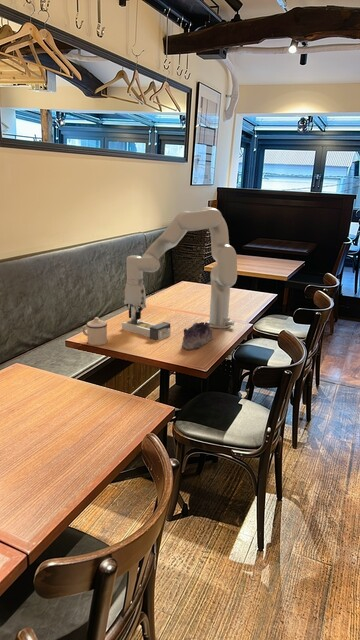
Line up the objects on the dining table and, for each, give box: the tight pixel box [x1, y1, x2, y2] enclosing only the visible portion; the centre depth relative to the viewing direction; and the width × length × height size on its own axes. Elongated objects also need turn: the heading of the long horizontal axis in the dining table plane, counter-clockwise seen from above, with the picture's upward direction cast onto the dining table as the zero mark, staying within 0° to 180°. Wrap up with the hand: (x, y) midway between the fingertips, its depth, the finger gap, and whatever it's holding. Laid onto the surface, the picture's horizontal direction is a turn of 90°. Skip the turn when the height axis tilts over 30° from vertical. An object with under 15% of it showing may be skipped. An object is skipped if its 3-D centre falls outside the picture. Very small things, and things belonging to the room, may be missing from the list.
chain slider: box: [126, 305, 147, 328], centre depth 220 cm, size 10×5×10 cm, turn 54°
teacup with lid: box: [81, 316, 108, 346], centre depth 203 cm, size 12×9×12 cm
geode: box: [181, 321, 214, 351], centre depth 205 cm, size 20×12×10 cm, turn 155°
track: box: [121, 319, 171, 341], centre depth 218 cm, size 24×10×6 cm, turn 54°
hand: (134, 318), depth 221 cm, fingers closed on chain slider, 3 cm apart
